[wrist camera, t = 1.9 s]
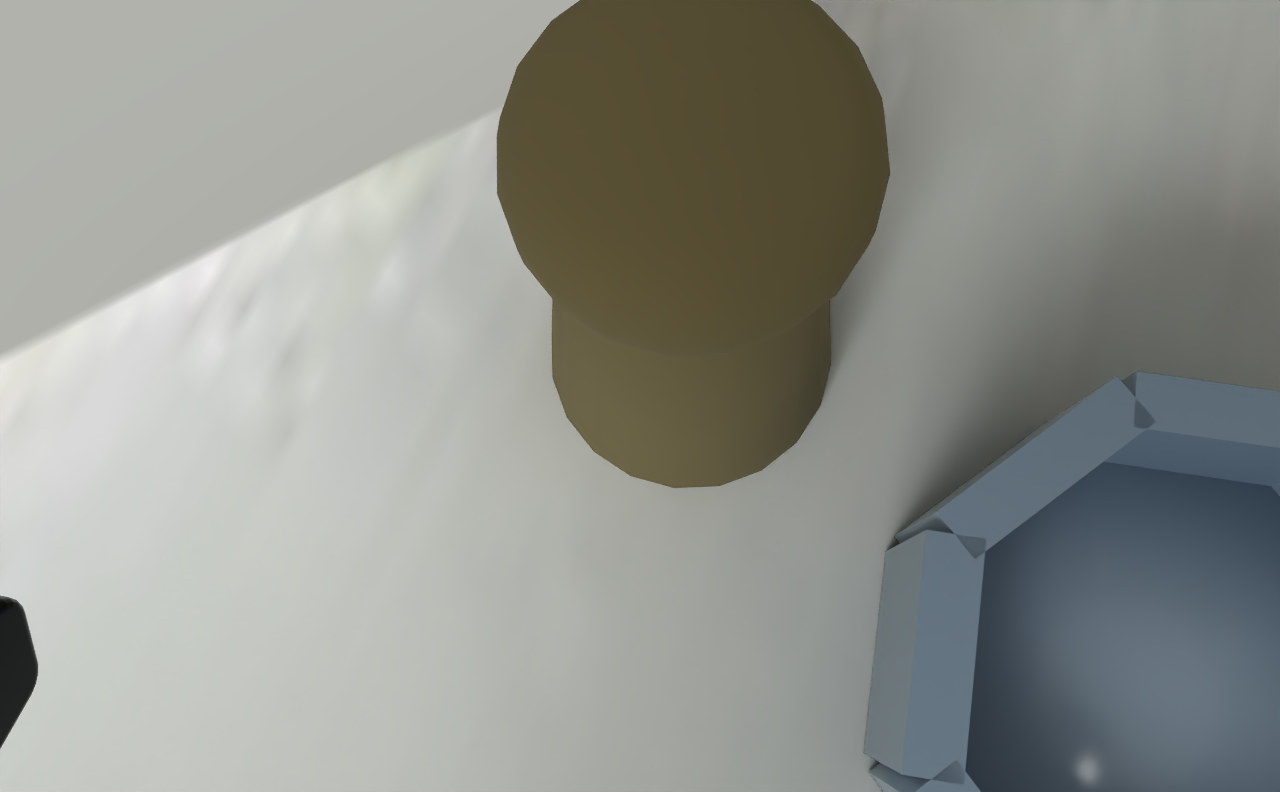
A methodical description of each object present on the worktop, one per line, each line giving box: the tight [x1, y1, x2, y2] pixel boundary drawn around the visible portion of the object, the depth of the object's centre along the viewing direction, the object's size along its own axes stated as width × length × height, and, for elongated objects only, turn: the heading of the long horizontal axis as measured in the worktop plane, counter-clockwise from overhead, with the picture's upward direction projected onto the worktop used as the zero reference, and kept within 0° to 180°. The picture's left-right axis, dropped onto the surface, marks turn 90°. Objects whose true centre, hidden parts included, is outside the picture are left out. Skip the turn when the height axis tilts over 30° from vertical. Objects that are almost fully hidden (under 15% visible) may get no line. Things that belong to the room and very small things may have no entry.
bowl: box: [863, 371, 1280, 792], centre depth 20 cm, size 11×11×4 cm
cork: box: [497, 0, 890, 488], centre depth 18 cm, size 6×6×11 cm
